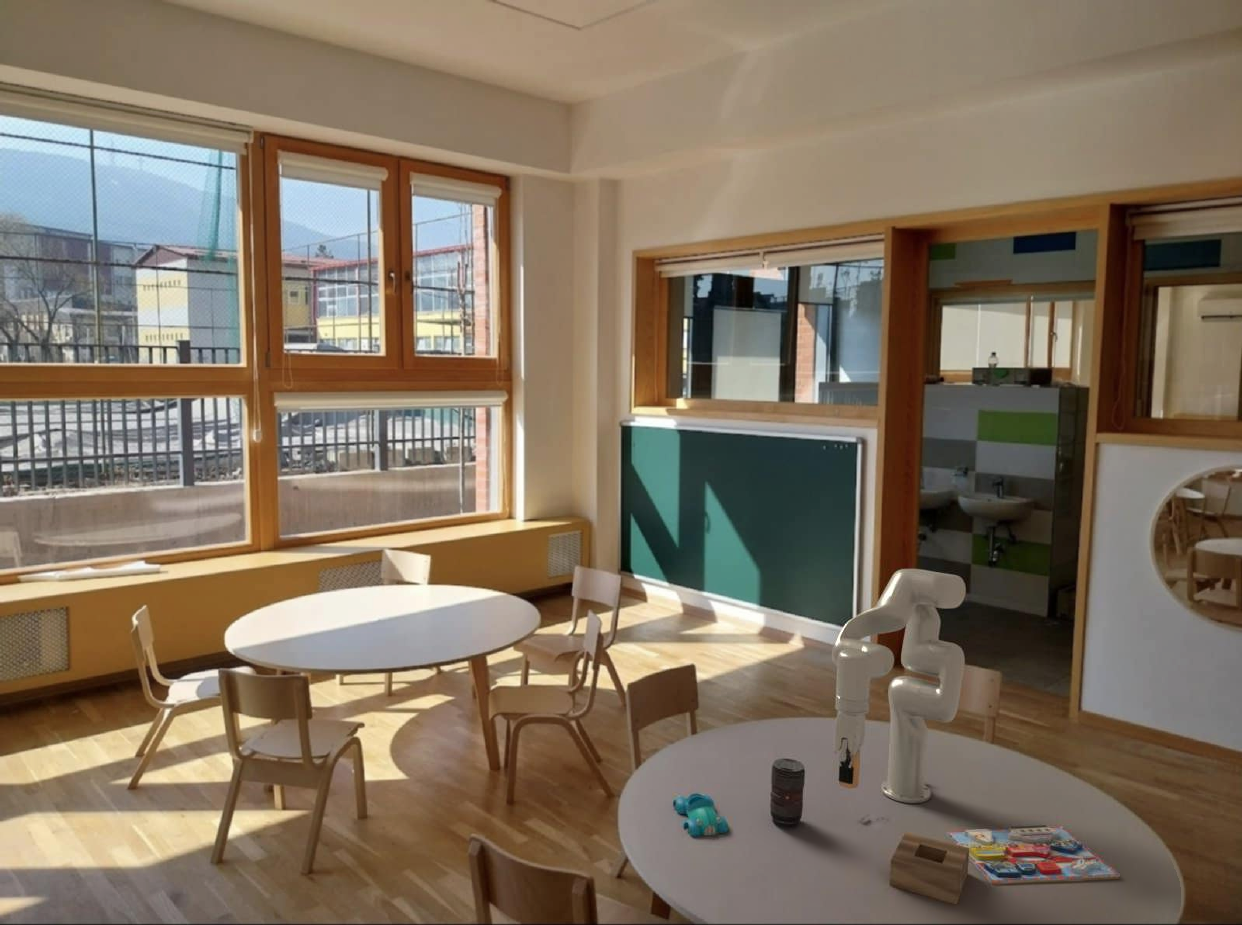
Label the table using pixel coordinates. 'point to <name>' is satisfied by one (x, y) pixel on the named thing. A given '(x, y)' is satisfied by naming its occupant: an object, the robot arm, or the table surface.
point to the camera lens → (787, 792)
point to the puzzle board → (1031, 855)
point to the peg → (855, 772)
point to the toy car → (700, 815)
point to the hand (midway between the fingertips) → (848, 777)
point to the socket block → (929, 867)
